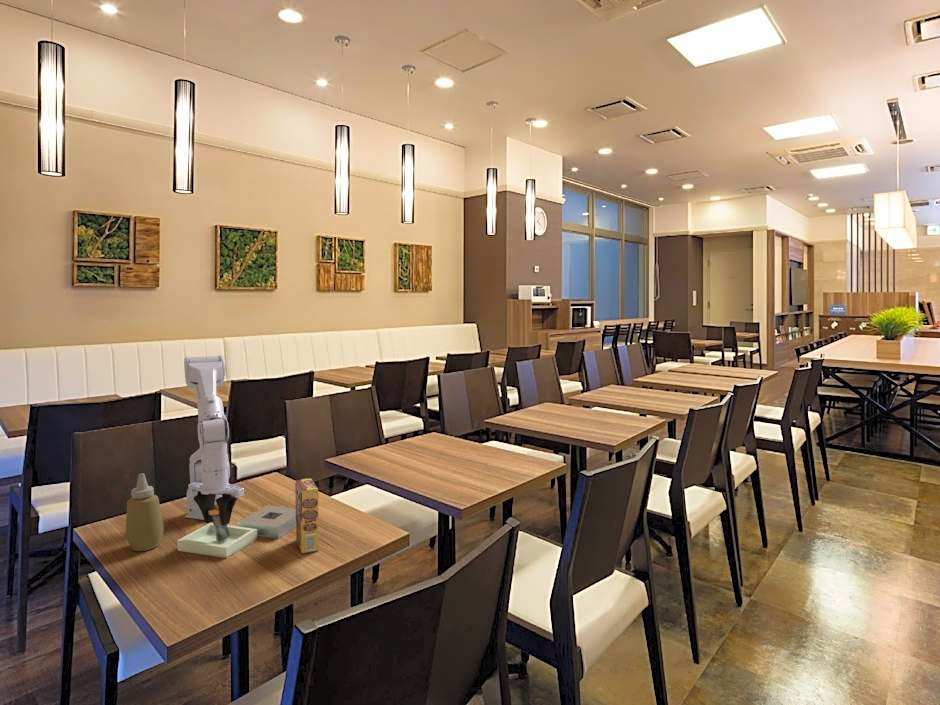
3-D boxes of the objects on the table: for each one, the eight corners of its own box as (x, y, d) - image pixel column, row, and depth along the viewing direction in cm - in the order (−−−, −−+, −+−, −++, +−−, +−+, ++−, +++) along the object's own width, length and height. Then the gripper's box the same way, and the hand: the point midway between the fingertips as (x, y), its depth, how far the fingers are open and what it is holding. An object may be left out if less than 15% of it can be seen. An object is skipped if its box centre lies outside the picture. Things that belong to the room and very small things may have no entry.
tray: (177, 550, 135) (177, 540, 135) (210, 532, 145) (210, 522, 145) (226, 558, 131) (226, 547, 131) (257, 538, 141) (257, 529, 141)
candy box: (320, 550, 135) (318, 488, 133) (301, 554, 133) (300, 491, 131) (313, 536, 143) (311, 477, 141) (295, 539, 141) (293, 480, 139)
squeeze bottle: (118, 551, 135) (113, 477, 133) (147, 537, 142) (143, 467, 140) (143, 556, 132) (138, 481, 130) (172, 542, 139) (168, 471, 138)
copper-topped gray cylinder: (209, 541, 138) (203, 510, 136) (222, 532, 141) (216, 502, 140) (223, 542, 136) (217, 511, 135) (235, 534, 140) (230, 503, 139)
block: (237, 533, 145) (237, 521, 145) (267, 515, 156) (266, 505, 156) (278, 538, 141) (278, 527, 141) (305, 520, 153) (305, 509, 153)
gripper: (177, 470, 134) (180, 525, 136) (228, 476, 130) (231, 533, 132) (199, 462, 141) (202, 515, 143) (248, 467, 137) (251, 521, 138)
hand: (217, 523), depth 138 cm, fingers closed on copper-topped gray cylinder, 4 cm apart
